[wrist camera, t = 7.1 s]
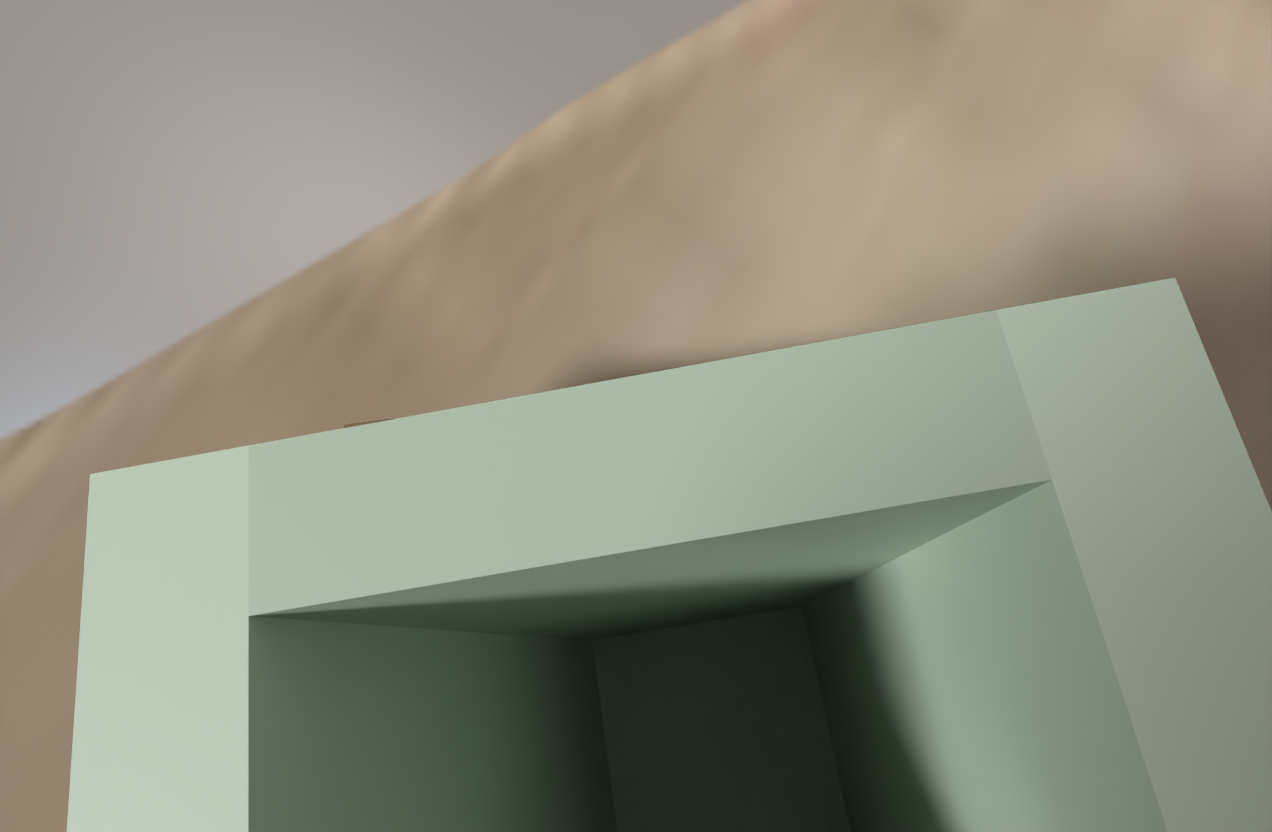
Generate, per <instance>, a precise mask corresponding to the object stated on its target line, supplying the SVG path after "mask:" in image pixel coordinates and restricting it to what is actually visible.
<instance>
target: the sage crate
mask: <svg viewBox="0 0 1272 832" xmlns="http://www.w3.org/2000/svg"><path fill="white" fill-rule="evenodd" d="M67 832H1272V511H1271V508H1270V506H1269V503H1268V501H1267V499H1266V496H1265V494H1264V491H1263V489H1262V486H1261V484H1260V482H1259V479H1258V477H1257V474H1256V472H1255V470H1254V467H1253V465H1252V462H1251V460H1250V457H1249V455H1248V453H1247V450H1246V448H1245V445H1244V443H1243V440H1242V438H1241V436H1240V433H1239V431H1238V428H1237V426H1236V424H1235V421H1234V419H1233V416H1232V414H1231V411H1230V409H1229V407H1228V404H1227V402H1226V399H1225V397H1224V394H1223V392H1222V390H1221V387H1220V385H1219V382H1218V380H1217V378H1216V375H1215V373H1214V370H1213V368H1212V365H1211V363H1210V361H1209V358H1208V356H1207V353H1206V351H1205V348H1204V346H1203V344H1202V341H1201V339H1200V336H1199V334H1198V332H1197V329H1196V327H1195V324H1194V322H1193V319H1192V317H1191V315H1190V312H1189V310H1188V307H1187V305H1186V302H1185V300H1184V298H1183V295H1182V293H1181V290H1180V288H1179V286H1178V283H1177V281H1176V278H1170V279H1164V280H1159V281H1153V282H1147V283H1142V284H1136V285H1131V286H1125V287H1120V288H1114V289H1109V290H1103V291H1098V292H1092V293H1087V294H1081V295H1076V296H1070V297H1065V298H1059V299H1054V300H1048V301H1043V302H1037V303H1032V304H1026V305H1021V306H1015V307H1010V308H1004V309H999V310H993V311H988V312H982V313H977V314H971V315H966V316H960V317H955V318H949V319H944V320H938V321H933V322H927V323H921V324H916V325H910V326H905V327H899V328H894V329H888V330H883V331H877V332H872V333H866V334H861V335H855V336H850V337H844V338H839V339H833V340H828V341H822V342H817V343H811V344H806V345H800V346H795V347H789V348H784V349H778V350H773V351H767V352H762V353H756V354H751V355H745V356H740V357H734V358H729V359H723V360H718V361H712V362H707V363H701V364H695V365H690V366H684V367H679V368H673V369H668V370H662V371H657V372H651V373H646V374H640V375H635V376H629V377H624V378H618V379H613V380H607V381H602V382H596V383H591V384H585V385H580V386H574V387H569V388H563V389H558V390H552V391H547V392H541V393H536V394H530V395H525V396H519V397H514V398H508V399H503V400H497V401H492V402H486V403H481V404H475V405H469V406H464V407H458V408H453V409H447V410H442V411H436V412H431V413H425V414H420V415H414V416H409V417H403V418H398V419H392V420H387V421H381V422H376V423H370V424H365V425H359V426H354V427H348V428H343V429H337V430H332V431H326V432H321V433H315V434H310V435H304V436H299V437H293V438H288V439H282V440H277V441H271V442H266V443H260V444H254V445H249V446H243V447H238V448H232V449H227V450H221V451H216V452H210V453H205V454H199V455H194V456H188V457H183V458H177V459H172V460H166V461H161V462H155V463H150V464H144V465H139V466H133V467H128V468H122V469H117V470H111V471H106V472H100V473H95V474H90V485H89V500H88V516H87V531H86V546H85V562H84V577H83V592H82V607H81V623H80V638H79V653H78V669H77V684H76V699H75V715H74V730H73V745H72V760H71V776H70V791H69V806H68V822H67Z"/></svg>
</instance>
